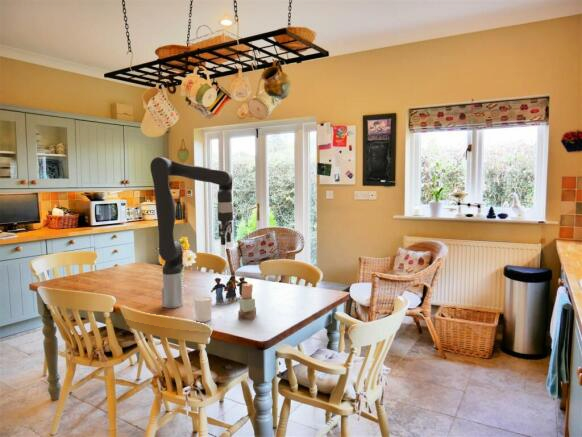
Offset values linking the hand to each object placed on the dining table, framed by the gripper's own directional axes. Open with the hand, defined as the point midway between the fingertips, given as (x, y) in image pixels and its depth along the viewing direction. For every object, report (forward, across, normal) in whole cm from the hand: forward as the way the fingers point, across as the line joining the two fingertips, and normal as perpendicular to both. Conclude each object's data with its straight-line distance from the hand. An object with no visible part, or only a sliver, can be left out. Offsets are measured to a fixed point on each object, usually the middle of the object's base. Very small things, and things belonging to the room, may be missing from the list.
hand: (226, 243), depth 209 cm
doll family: (+32, -10, -2) cm, 34 cm away
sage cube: (+28, +16, +14) cm, 36 cm away
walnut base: (+32, +15, +14) cm, 39 cm away
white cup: (+32, +21, -5) cm, 39 cm away
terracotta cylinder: (+23, +15, +14) cm, 31 cm away
